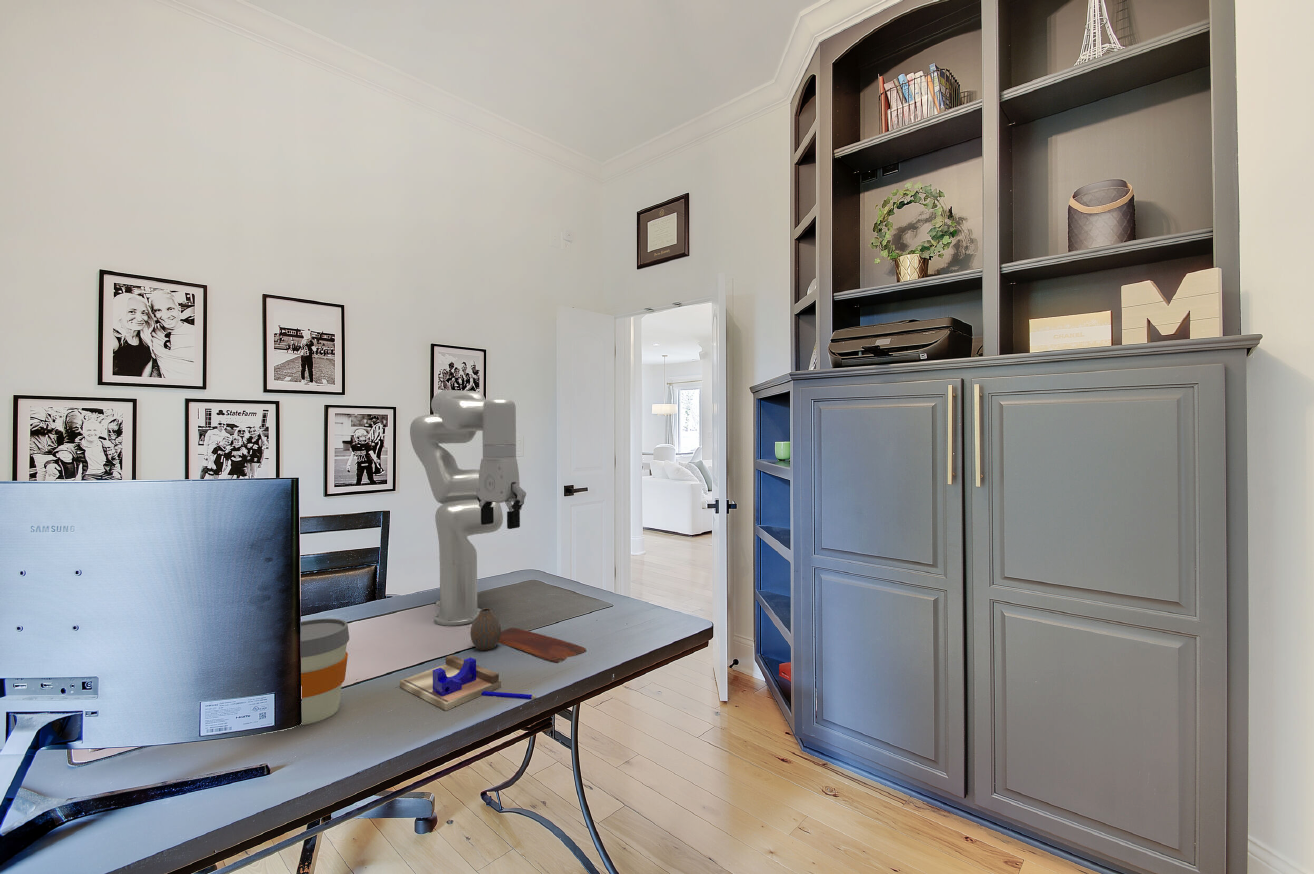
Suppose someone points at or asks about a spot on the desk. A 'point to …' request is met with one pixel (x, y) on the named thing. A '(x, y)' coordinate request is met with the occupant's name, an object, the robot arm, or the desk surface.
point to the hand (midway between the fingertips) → (500, 526)
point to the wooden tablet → (540, 645)
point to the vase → (485, 630)
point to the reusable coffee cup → (322, 667)
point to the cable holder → (454, 678)
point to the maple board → (469, 691)
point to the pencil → (508, 695)
